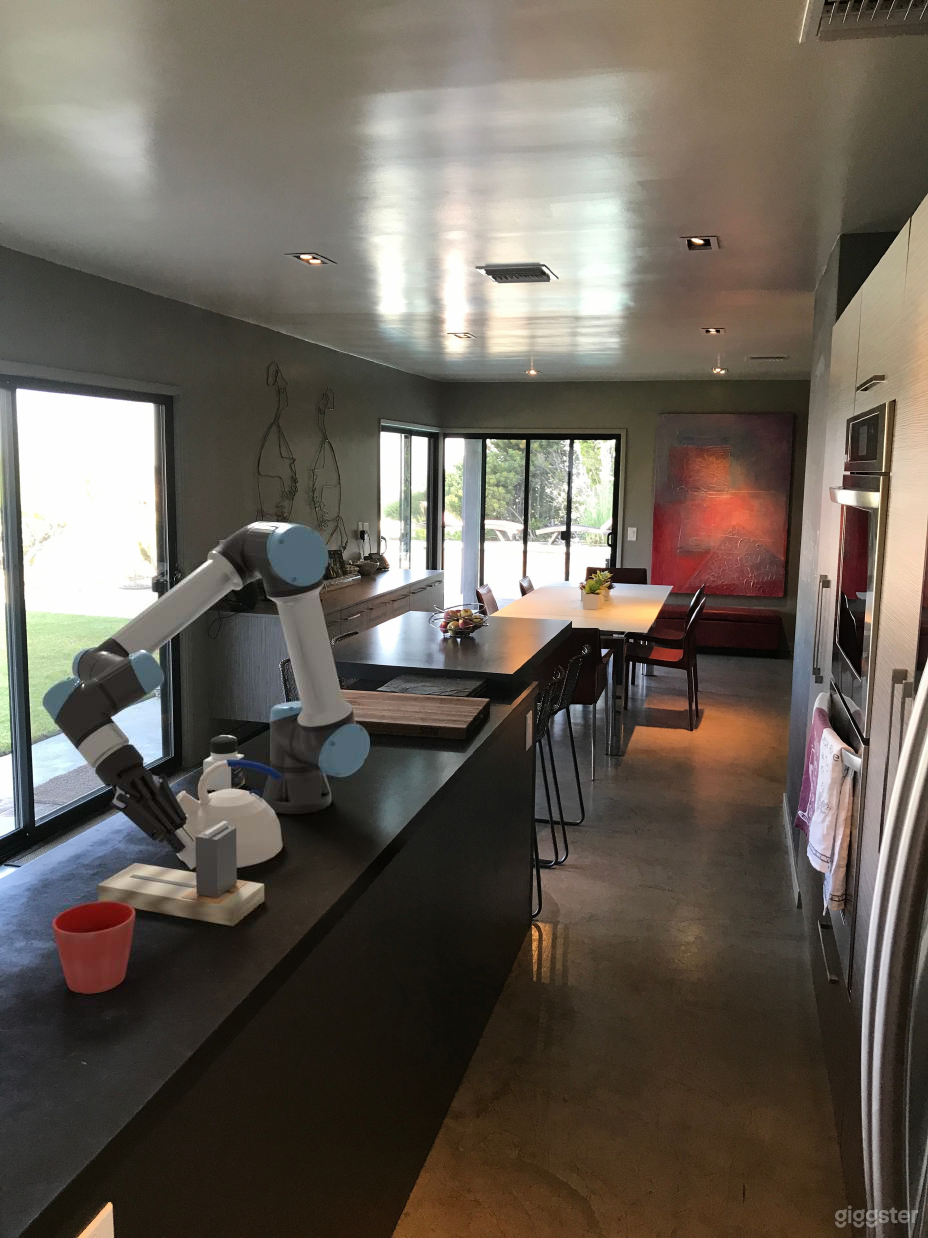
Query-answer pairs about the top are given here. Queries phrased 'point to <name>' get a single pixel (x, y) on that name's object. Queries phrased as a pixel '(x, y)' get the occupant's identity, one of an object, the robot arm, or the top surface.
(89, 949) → the flower pot
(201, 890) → the fader knob
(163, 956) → the top surface
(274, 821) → the kettle
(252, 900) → the fader console
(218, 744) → the medicine bottle
